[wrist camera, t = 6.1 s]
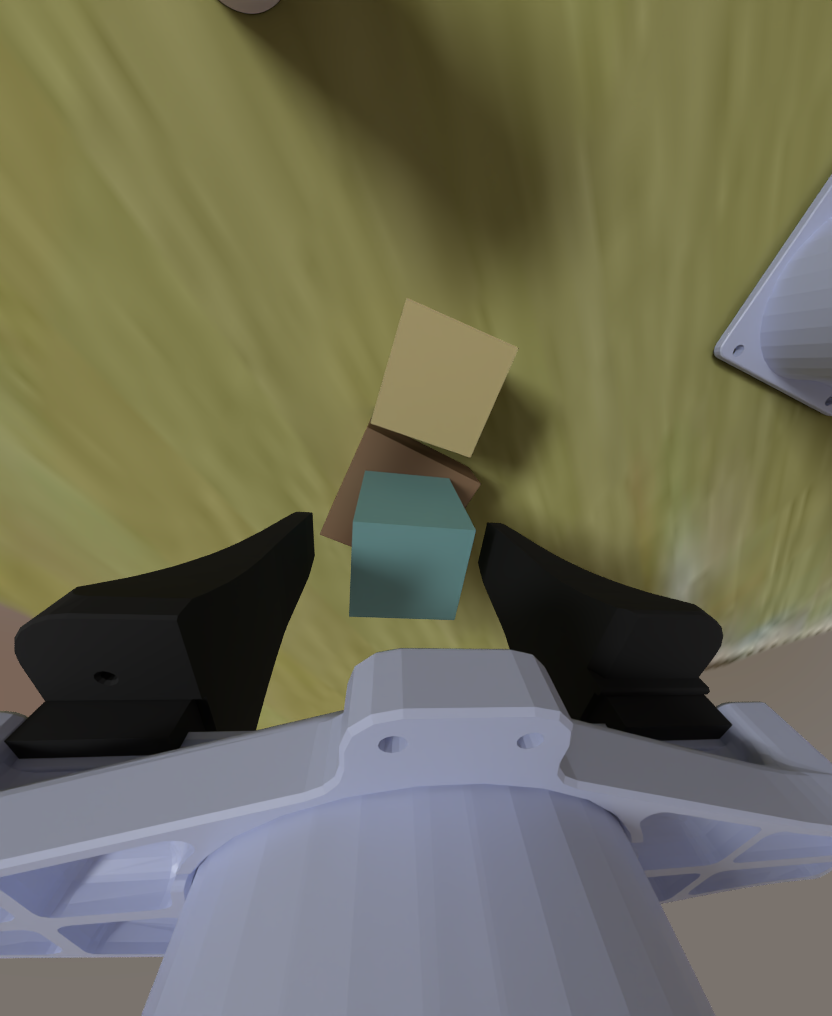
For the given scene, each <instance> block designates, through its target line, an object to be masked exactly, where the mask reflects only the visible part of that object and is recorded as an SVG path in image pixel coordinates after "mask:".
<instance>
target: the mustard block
mask: <svg viewBox="0 0 832 1016" xmlns="http://www.w3.org/2000/svg"><path fill="white" fill-rule="evenodd" d="M518 349H519V348H518V347H516V346H513V345H511V344H509V343H507V342H504V341H502V340H500V339H498V338H496V337H493V336H491V335H489V334H487V333H484V332H482V331H480V330H478V329H475V328H473V327H471V326H469V325H467V324H464V323H462V322H460V321H458V320H455V319H453V318H451V317H449V316H446V315H444V314H442V313H440V312H438V311H435V310H433V309H431V308H429V307H426V306H424V305H422V304H420V303H417V302H415V301H413V300H411V299H409V298H406V301H405V305H404V308H403V312H402V315H401V319H400V322H399V326H398V329H397V333H396V336H395V340H394V343H393V347H392V350H391V353H390V357H389V360H388V364H387V367H386V371H385V374H384V378H383V381H382V385H381V388H380V392H379V395H378V399H377V402H376V405H375V409H374V412H373V416H372V419H371V424H374V425H377V426H380V427H383V428H386V429H389V430H391V431H394V432H397V433H400V434H403V435H406V436H409V437H412V438H415V439H418V440H420V441H423V442H426V443H429V444H432V445H435V446H438V447H441V448H444V449H447V450H449V451H452V452H455V453H458V454H461V455H464V456H467V457H471V455H472V453H473V451H474V448H475V446H476V444H477V442H478V439H479V437H480V435H481V432H482V430H483V428H484V426H485V423H486V421H487V419H488V417H489V414H490V412H491V410H492V408H493V405H494V403H495V401H496V399H497V396H498V394H499V392H500V389H501V387H502V385H503V383H504V380H505V378H506V376H507V374H508V371H509V369H510V367H511V365H512V362H513V360H514V358H515V355H516V353H517V351H518Z"/></svg>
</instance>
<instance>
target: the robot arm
mask: <svg viewBox="0 0 832 1016" xmlns="http://www.w3.org/2000/svg"><path fill="white" fill-rule="evenodd" d="M735 348H736V350H735V352H734V354H733V351H734V349H735ZM714 355H715V356H716V357H717V358H718V359H720V360H722V361H724V362H726V363H728V364H730V365H732V366H734V367H736V368H737V369H739V370H741V371H743V372H745V373H747V374H749V375H751V376H753V377H754V378H756V379H758V380H760V381H762V382H764V383H766V384H768V385H770V386H771V387H773V388H775V389H777V390H779V391H781V392H783V393H785V394H787V395H788V396H790V397H792V398H794V399H796V400H798V401H800V402H802V403H804V404H805V405H807V406H809V407H811V408H813V409H815V410H817V411H819V412H821V413H822V414H824V415H827V416H832V175H831V176H830V178H829V179H828V180H827V182H826V183H825V185H824V186H823V188H822V189H821V191H820V192H819V194H818V195H817V197H816V198H815V200H814V201H813V203H812V204H811V206H810V207H809V208H808V210H807V211H806V213H805V214H804V216H803V217H802V219H801V220H800V222H799V223H798V225H797V226H796V228H795V229H794V231H793V232H792V233H791V235H790V236H789V238H788V239H787V241H786V242H785V244H784V245H783V247H782V248H781V250H780V251H779V253H778V254H777V256H776V257H775V258H774V260H773V261H772V263H771V264H770V266H769V267H768V269H767V270H766V272H765V273H764V275H763V276H762V278H761V279H760V281H759V282H758V283H757V285H756V286H755V288H754V289H753V291H752V292H751V294H750V295H749V297H748V298H747V300H746V301H745V303H744V304H743V306H742V307H741V309H740V310H739V311H738V313H737V314H736V316H735V317H734V319H733V320H732V322H731V323H730V325H729V326H728V328H727V329H726V331H725V332H724V334H723V335H722V336H721V338H720V339H719V341H718V342H717V344H716V346H715V349H714ZM314 556H315V554H314V534H313V515H312V513H310V512H295V513H293V514H291V515H289V516H287V517H285V518H284V519H282V520H280V521H278V522H277V523H275V524H273V525H271V526H270V527H268V528H266V529H264V530H263V531H261V532H259V533H257V534H255V535H253V536H251V537H249V538H247V539H245V540H243V541H241V542H239V543H237V544H235V545H232V546H230V547H228V548H225V549H223V550H220V551H218V552H215V553H213V554H210V555H207V556H204V557H201V558H198V559H195V560H192V561H189V562H186V563H183V564H180V565H177V566H173V567H169V568H166V569H162V570H158V571H154V572H150V573H146V574H142V575H137V576H133V577H128V578H123V579H118V580H113V581H107V582H102V583H97V584H91V585H86V586H80V587H76V588H75V589H73V590H72V591H71V592H69V593H68V594H66V595H65V596H64V597H62V598H61V599H59V600H58V601H57V602H55V603H54V604H52V605H51V606H50V607H48V608H47V609H45V610H44V611H43V612H41V613H40V614H38V615H37V616H36V617H34V618H33V619H32V620H30V621H29V622H27V623H26V624H25V625H23V626H22V627H20V629H19V631H18V633H17V634H16V636H15V654H16V656H17V659H18V661H19V663H20V665H21V666H22V668H23V669H24V671H25V672H26V674H27V675H28V677H29V678H30V679H31V681H32V682H33V684H34V685H35V687H36V688H37V690H38V691H39V693H40V694H41V696H42V697H43V699H44V700H45V702H44V703H43V704H42V705H41V706H40V707H39V708H38V709H37V710H36V711H35V712H34V713H33V714H32V715H30V716H29V717H26V716H25V715H22V714H20V713H16V712H9V711H0V958H70V957H71V958H72V957H73V958H76V957H164V958H163V960H162V963H161V966H160V968H159V971H158V974H157V976H156V978H155V981H154V984H153V986H152V989H151V991H150V994H149V997H148V999H147V1002H146V1004H145V1007H144V1010H143V1012H142V1015H141V1016H716V1015H715V1013H714V1011H713V1009H712V1007H711V1005H710V1003H709V1001H708V999H707V997H706V995H705V993H704V991H703V989H702V987H701V985H700V983H699V981H698V979H697V977H696V975H695V973H694V971H693V969H692V967H691V965H690V963H689V961H688V959H687V957H686V955H685V953H684V951H683V949H682V947H681V945H680V943H679V941H678V939H677V937H676V935H675V933H674V931H673V929H672V927H671V924H670V923H669V921H668V918H667V916H666V914H665V912H664V911H663V908H662V906H661V904H663V903H668V902H673V901H678V900H683V899H688V898H693V897H698V896H703V895H708V894H713V893H719V892H724V891H730V890H736V889H741V888H746V887H753V886H760V885H767V884H773V883H781V882H790V881H798V880H807V879H817V878H820V877H821V876H823V875H825V874H827V873H829V872H831V871H832V763H831V762H830V761H829V760H828V759H827V758H826V757H824V756H823V755H822V754H821V753H820V752H819V751H818V750H817V749H816V748H814V747H813V746H812V745H811V744H810V743H809V742H808V741H806V739H804V738H803V737H802V736H801V735H800V734H799V733H798V732H797V731H796V730H795V729H793V728H792V727H791V726H790V725H789V724H788V723H787V722H786V721H785V720H783V719H782V718H781V717H780V716H779V715H778V714H777V713H776V712H775V711H773V710H772V709H771V708H770V707H769V706H768V705H767V704H766V703H763V702H727V703H722V704H720V705H718V706H716V707H715V706H714V705H713V704H712V703H711V702H710V701H709V699H708V698H706V696H705V695H704V694H708V693H709V692H710V691H709V687H708V686H707V685H706V684H705V683H704V682H703V681H702V680H701V679H700V678H699V676H700V675H701V673H702V672H703V671H704V669H705V668H706V667H707V665H708V664H709V663H710V662H711V660H712V659H713V658H714V656H715V655H716V653H717V652H718V650H719V648H720V647H721V643H722V639H723V633H722V628H721V626H720V625H719V624H718V622H717V621H716V620H715V619H713V618H712V617H711V616H710V615H708V614H707V613H706V612H704V611H703V610H702V609H701V608H699V607H698V606H696V605H694V604H691V603H687V602H683V601H679V600H675V599H671V598H667V597H663V596H659V595H655V594H652V593H648V592H645V591H642V590H639V589H635V588H632V587H629V586H626V585H623V584H620V583H617V582H614V581H612V580H609V579H606V578H604V577H601V576H599V575H596V574H594V573H591V572H589V571H587V570H584V569H582V568H580V567H578V566H576V565H574V564H572V563H569V562H567V561H565V560H563V559H562V558H560V557H558V556H556V555H554V554H552V553H551V552H549V551H547V550H545V549H544V548H542V547H540V546H539V545H537V544H535V543H534V542H532V541H531V540H529V539H527V538H526V537H524V536H523V535H521V534H519V533H518V532H516V531H515V530H513V529H511V528H509V527H508V526H506V525H504V524H501V523H487V526H486V530H485V535H484V539H483V543H482V548H481V552H480V556H479V561H478V564H479V568H480V573H481V576H482V580H483V583H484V586H485V588H486V590H487V593H488V595H489V598H490V600H491V602H492V605H493V607H494V609H495V611H496V614H497V616H498V618H499V621H500V623H501V625H502V628H503V630H504V633H505V636H506V639H507V642H508V645H509V649H438V648H399V649H393V650H387V651H382V652H377V653H375V654H373V655H372V656H370V657H369V658H367V659H366V660H364V661H363V662H361V663H360V664H358V665H356V666H355V667H354V670H353V672H352V674H351V677H350V679H349V682H348V685H347V692H346V700H345V707H344V710H342V711H337V712H333V713H329V714H324V715H320V716H316V717H312V718H307V719H303V720H299V721H295V722H290V723H286V724H282V725H277V726H273V727H269V728H265V729H260V730H256V728H257V724H258V720H259V717H260V713H261V709H262V706H263V702H264V698H265V695H266V691H267V688H268V684H269V681H270V678H271V674H272V671H273V667H274V664H275V661H276V657H277V654H278V651H279V648H280V645H281V642H282V639H283V636H284V633H285V630H286V628H287V625H288V622H289V620H290V618H291V616H292V614H293V611H294V609H295V607H296V605H297V602H298V600H299V598H300V596H301V593H302V591H303V589H304V587H305V584H306V582H307V580H308V577H309V574H310V571H311V567H312V564H313V560H314Z"/></svg>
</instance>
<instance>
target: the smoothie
mask: <svg viewBox="0 0 832 1016" xmlns="http://www.w3.org/2000/svg"><path fill="white" fill-rule="evenodd" d="M219 1H221V2H222V3H223V4H225V5H226V6H228V7H230V8H232V9H234V10H236V11H239V12H242V13H247V14H256V13H261V12H264V11H266V10H269V9H270V8H272V7H273V6H274V5H276V4H277V3H278V2H279V1H280V0H219Z"/></svg>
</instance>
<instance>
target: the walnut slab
mask: <svg viewBox="0 0 832 1016" xmlns="http://www.w3.org/2000/svg"><path fill="white" fill-rule="evenodd" d="M371 419H372V418H371ZM365 471H375V472H386V473H397V474H408V475H418V476H429V477H440V478H449V479H450V481H451V483H452V485H453V487H454V489H455V491H456V493H457V495H458V497H459V499H460V500H461V502H462V504H463V506H464V508H466V506H467V505H468V503H469V502H470V500H471V499H472V497H473V496H474V494H475V492H476V491H477V489H478V488H479V486H480V485H481V483H480V482H479V480H478V479H477V478H476V477H475V475H474V474H473V473H472V471H471V470H470V469H469V467H467V466H465V465H463V464H461V463H459V462H457V461H455V460H453V459H451V458H449V457H448V456H446V455H444V454H442V453H440V452H438V451H436V450H434V449H432V448H430V447H428V446H426V445H424V444H422V443H420V442H418V441H416V440H414V439H412V438H410V437H408V436H406V435H403V434H400V433H397V432H394V431H391V430H389V429H386V428H383V427H380V426H377V425H374V424H371V420H370V422H369V424H368V426H367V429H366V431H365V433H364V435H363V438H362V440H361V442H360V444H359V447H358V449H357V451H356V453H355V456H354V458H353V460H352V462H351V464H350V467H349V469H348V471H347V473H346V476H345V478H344V480H343V482H342V485H341V487H340V489H339V491H338V493H337V496H336V498H335V500H334V502H333V505H332V507H331V509H330V511H329V514H328V516H327V518H326V521H325V523H324V525H323V528H322V530H321V532H320V535H322V536H325V537H328V538H330V539H333V540H335V541H338V542H341V543H343V544H346V545H349V546H351V547H352V531H353V519H354V515H355V511H356V506H357V502H358V498H359V494H360V490H361V486H362V481H363V477H364V473H365Z"/></svg>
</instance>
